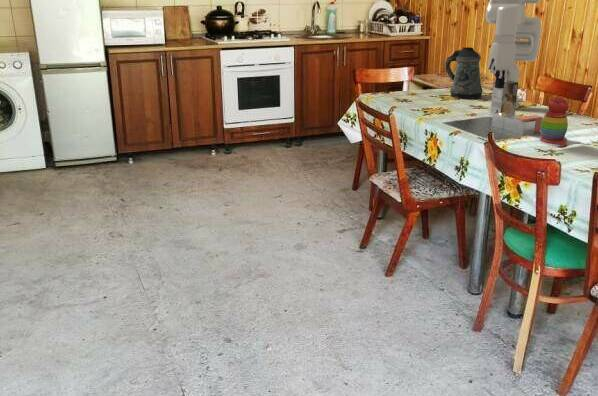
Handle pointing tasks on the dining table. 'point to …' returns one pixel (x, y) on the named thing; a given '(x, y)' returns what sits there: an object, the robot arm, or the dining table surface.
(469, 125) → the base plate
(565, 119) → the stacking bear
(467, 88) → the beer stein
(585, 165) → the dining table surface
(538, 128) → the keeper
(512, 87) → the coffee box
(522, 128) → the link
